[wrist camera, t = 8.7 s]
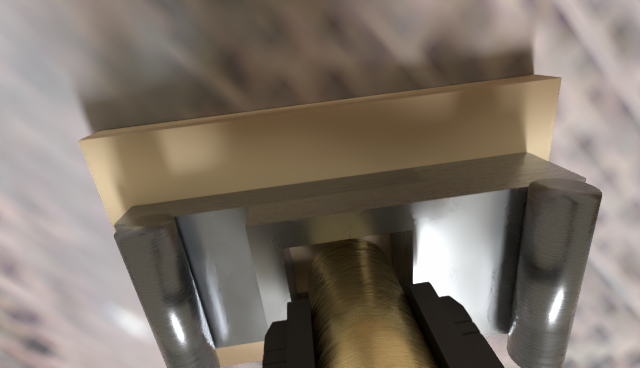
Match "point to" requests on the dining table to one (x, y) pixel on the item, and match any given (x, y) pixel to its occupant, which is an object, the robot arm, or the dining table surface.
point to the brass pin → (362, 311)
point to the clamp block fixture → (351, 212)
